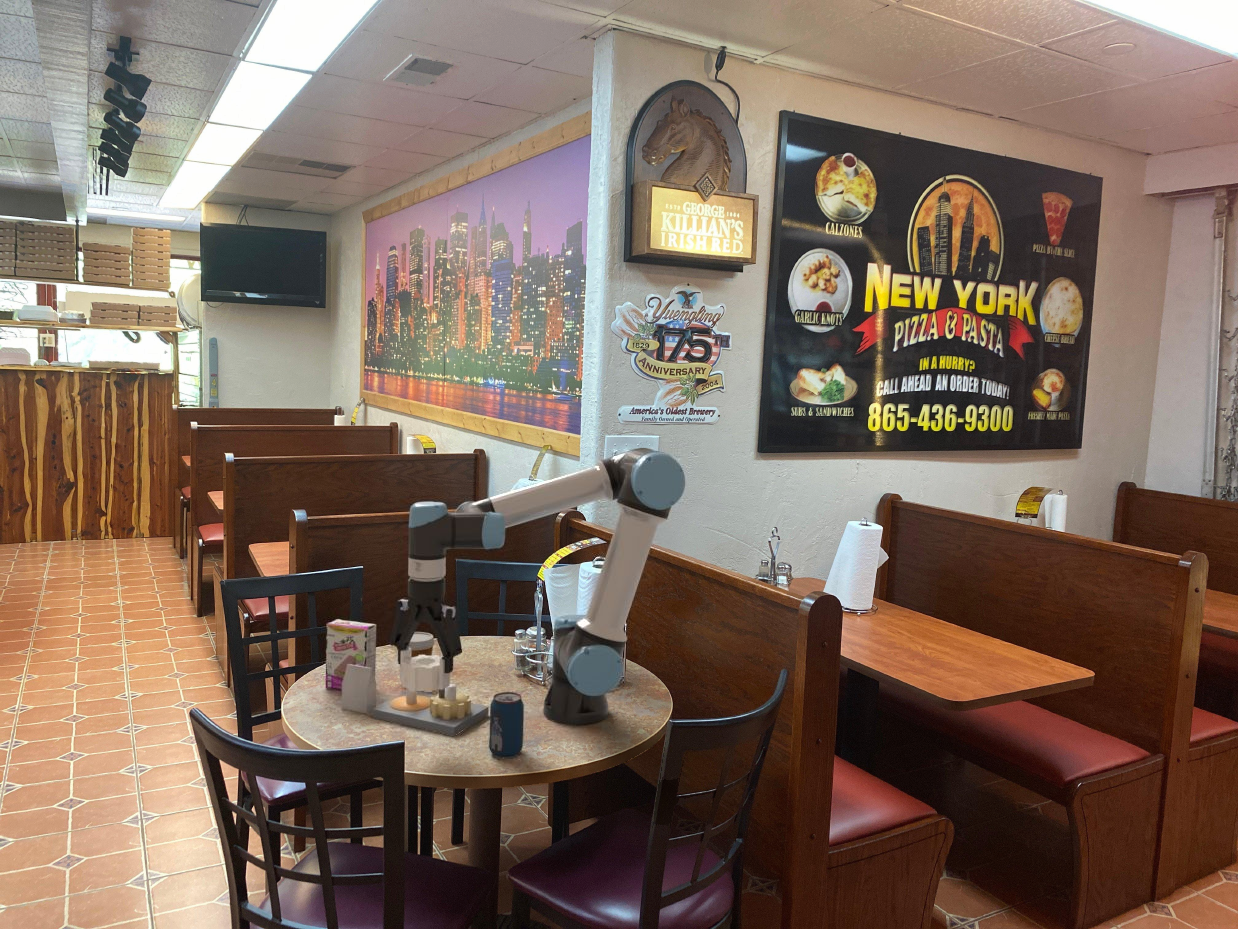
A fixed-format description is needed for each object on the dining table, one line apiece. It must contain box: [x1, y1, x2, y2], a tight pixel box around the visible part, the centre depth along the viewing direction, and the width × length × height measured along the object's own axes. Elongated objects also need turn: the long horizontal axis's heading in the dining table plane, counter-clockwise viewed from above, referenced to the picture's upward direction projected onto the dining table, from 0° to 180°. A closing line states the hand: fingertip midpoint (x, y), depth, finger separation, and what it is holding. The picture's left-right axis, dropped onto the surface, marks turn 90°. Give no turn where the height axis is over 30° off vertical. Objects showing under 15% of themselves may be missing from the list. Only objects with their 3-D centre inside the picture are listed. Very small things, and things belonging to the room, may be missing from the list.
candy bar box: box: [325, 618, 377, 692], centre depth 215 cm, size 11×5×16 cm, turn 76°
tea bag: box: [341, 664, 377, 714], centre depth 203 cm, size 4×7×10 cm, turn 70°
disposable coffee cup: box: [407, 631, 436, 657], centre depth 221 cm, size 10×10×12 cm
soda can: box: [488, 691, 525, 760], centre depth 182 cm, size 7×7×12 cm
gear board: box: [370, 683, 490, 737], centre depth 200 cm, size 22×14×8 cm, turn 67°
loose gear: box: [401, 654, 441, 693], centre depth 183 cm, size 9×9×5 cm
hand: (424, 683), depth 184 cm, fingers closed on loose gear, 9 cm apart
